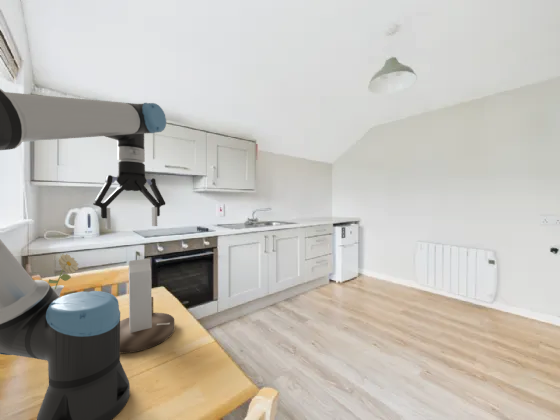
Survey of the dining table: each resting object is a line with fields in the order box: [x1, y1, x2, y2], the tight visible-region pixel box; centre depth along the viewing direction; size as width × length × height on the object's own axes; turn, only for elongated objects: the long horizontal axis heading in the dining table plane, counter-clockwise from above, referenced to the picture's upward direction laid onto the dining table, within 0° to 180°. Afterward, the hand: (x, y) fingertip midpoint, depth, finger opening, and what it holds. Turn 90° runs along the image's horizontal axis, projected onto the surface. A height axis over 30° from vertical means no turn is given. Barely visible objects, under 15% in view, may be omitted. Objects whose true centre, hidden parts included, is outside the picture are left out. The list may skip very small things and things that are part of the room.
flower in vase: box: [48, 253, 79, 297], centre depth 86 cm, size 13×11×25 cm
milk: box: [128, 258, 152, 333], centre depth 79 cm, size 6×6×22 cm
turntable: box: [120, 296, 175, 354], centre depth 80 cm, size 20×20×9 cm
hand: (132, 227), depth 79 cm, fingers open, 13 cm apart
